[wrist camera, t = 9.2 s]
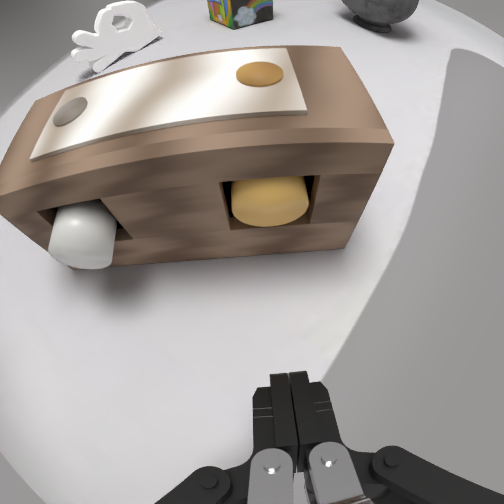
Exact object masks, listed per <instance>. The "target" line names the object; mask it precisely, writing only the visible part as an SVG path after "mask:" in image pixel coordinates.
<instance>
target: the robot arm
mask: <svg viewBox="0 0 504 504" xmlns="http://www.w3.org/2000/svg"><path fill="white" fill-rule="evenodd" d="M253 443H254V449H253V453H252V455H251V457H250V458H249V460H248V461H247V462H245V463H244V464H242V465H240V466H237V467H234V468H230V469H227V470H222V469H220V468H218V467H213V466H206V467H202V468H199V469H197V470H196V471H194V472H193V473H192V474H191V475H190V476H188V477H187V478H186V479H185V480H184V481H183V482H181V483H180V484H179V485H178V486H176V487H175V488H174V489H173V490H171V491H170V492H169V493H168V494H166V495H165V496H164V497H163V498H161V499H160V500H159V501H157V502H156V503H155V504H293V479H294V473H296V465H297V472H304V478H305V485H304V488H305V493H306V497H307V502H308V504H504V495H502V494H500V493H497V492H494V491H492V490H490V489H487V488H484V487H482V486H480V485H477V484H475V483H473V482H470V481H468V480H466V479H464V478H461V477H459V476H457V475H455V474H452V473H450V472H448V471H446V470H444V469H442V468H440V467H438V466H435V465H434V464H432V463H430V462H428V461H426V460H424V459H422V458H420V457H418V456H416V455H414V454H412V453H410V452H408V451H407V450H405V449H403V448H401V447H398V446H386V447H384V448H381V449H380V450H378V451H377V452H376V453H368V452H367V453H366V452H357V451H353V450H351V449H349V448H348V447H346V446H345V445H344V444H343V442H342V440H341V438H340V434H339V430H338V426H337V423H336V419H335V415H334V411H333V408H332V404H331V402H330V397H329V393H328V390H327V389H326V387H325V386H324V385H323V384H322V383H321V382H312V383H309V379H308V374H307V371H300V372H290V373H280V374H270V387H259V388H257V390H256V392H255V394H254V396H253Z"/></svg>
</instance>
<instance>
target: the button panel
mask: <svg viewBox="0 0 504 504" xmlns="http://www.w3.org/2000/svg"><path fill="white" fill-rule="evenodd" d="M393 146H394V142H393V140H392V137H391V135H390V133H389V131H388V129H387V127H386V125H385V123H384V121H383V119H382V117H381V115H380V113H379V111H378V110H377V108H376V106H375V104H374V102H373V100H372V98H371V97H370V95H369V93H368V91H367V90H366V88H365V86H364V84H363V83H362V81H361V79H360V78H359V76H358V74H357V73H356V71H355V69H354V68H353V66H352V65H351V63H350V61H349V60H348V58H347V57H346V55H345V54H344V52H343V51H342V49H341V48H340V47H330V46H259V47H244V48H233V49H223V50H215V51H207V52H200V53H194V54H188V55H182V56H176V57H171V58H166V59H161V60H157V61H152V62H148V63H144V64H140V65H136V66H132V67H128V68H125V69H121V70H118V71H114V72H111V73H108V74H104V75H101V76H98V77H95V78H92V79H89V80H86V81H83V82H81V83H78V84H75V85H73V86H70V87H67V88H65V89H62V90H60V91H57V92H55V93H53V94H50V95H48V96H46V97H43V98H41V99H39V100H37V101H35V102H34V104H33V106H32V107H31V109H30V110H29V112H28V114H27V115H26V117H25V119H24V120H23V122H22V124H21V126H20V127H19V129H18V131H17V133H16V135H15V136H14V138H13V140H12V142H11V144H10V146H9V148H8V150H7V152H6V154H5V156H4V158H3V160H2V162H1V164H0V215H2V216H3V217H4V218H5V219H6V220H8V221H9V222H10V223H11V224H13V225H14V226H15V227H16V228H18V229H19V230H20V231H21V232H23V233H24V234H25V235H26V236H28V237H29V238H30V239H32V240H33V241H34V242H35V243H37V244H38V245H39V246H41V247H42V248H43V249H45V250H46V251H47V252H48V247H49V243H50V238H51V234H52V230H53V226H54V222H55V218H56V214H57V210H58V207H59V206H63V205H68V204H73V203H78V202H84V201H89V200H94V199H101V201H102V202H103V203H104V204H105V206H106V207H107V208H108V209H109V211H110V212H111V213H112V214H113V215H114V217H115V218H116V219H117V220H118V221H119V223H120V224H121V225H122V226H123V227H124V228H121V229H116V235H115V242H114V249H113V256H112V263H111V264H110V265H109V266H123V265H136V264H149V263H163V262H176V261H189V260H202V259H215V258H228V257H241V256H253V255H266V254H279V253H291V252H304V251H316V250H329V249H341V248H345V246H346V244H347V242H348V240H349V238H350V236H351V234H352V232H353V231H354V229H355V227H356V225H357V223H358V221H359V219H360V217H361V215H362V213H363V211H364V209H365V207H366V204H367V202H368V200H369V198H370V196H371V194H372V192H373V190H374V188H375V186H376V184H377V181H378V179H379V177H380V175H381V173H382V171H383V168H384V166H385V164H386V162H387V159H388V157H389V155H390V153H391V150H392V148H393ZM308 175H315V176H314V181H313V186H312V191H311V196H310V201H309V206H308V211H306V212H305V213H304V214H303V215H302V216H300V217H299V218H297V219H296V220H294V221H292V222H289V223H286V224H283V225H278V226H270V227H261V226H253V225H249V224H246V223H243V222H241V221H239V220H238V219H237V218H236V217H230V215H229V211H228V207H227V202H226V198H225V194H224V189H223V185H222V182H225V181H235V180H247V179H259V178H273V177H289V176H308ZM67 266H68V265H67ZM109 266H107V267H109ZM68 267H70V268H71V269H81V268H76V267H72V266H68Z"/></svg>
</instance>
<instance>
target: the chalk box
mask: <svg viewBox="0 0 504 504" xmlns="http://www.w3.org/2000/svg"><path fill="white" fill-rule="evenodd" d="M207 2H208V8H209V13H210V19H211V20H214V21H216V22H218V23H221V24H223V25H225V26H227V27H230V28H232V29H236V28H240V27H243V26H247V25H250V24H255V23H259V22H263V21H268V20H272V19H273V0H207Z"/></svg>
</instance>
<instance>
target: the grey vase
mask: <svg viewBox="0 0 504 504" xmlns="http://www.w3.org/2000/svg"><path fill="white" fill-rule="evenodd" d="M342 2H343V3H344V4H345V5H346V6H347V7H348V8H349V9H350V10H351V11H352V12H354V13H355V14H357V15H355V16H354V21H355V22H356V23H357V24H359V25H361V26H363V27H365V28H368V29H370V30H374V31H378V32H389V31H391V26H390V25H389V24H394V23H398V22H402V21H404V20H405V19H407V18H408V17H410V16H411V15H412V14H413V13H414V11H415V10H416V8H417V5H418V2H419V0H342Z"/></svg>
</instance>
